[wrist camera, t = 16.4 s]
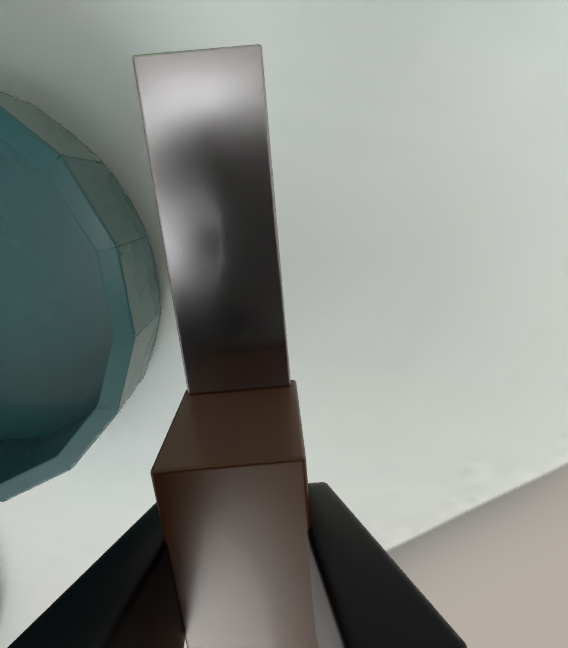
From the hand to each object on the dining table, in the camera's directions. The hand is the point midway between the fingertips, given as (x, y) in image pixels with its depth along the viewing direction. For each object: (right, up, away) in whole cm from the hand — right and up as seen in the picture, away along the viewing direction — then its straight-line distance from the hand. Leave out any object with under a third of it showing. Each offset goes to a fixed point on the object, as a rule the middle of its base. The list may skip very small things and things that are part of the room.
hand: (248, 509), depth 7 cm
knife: (0, +3, 0) cm, 3 cm away
